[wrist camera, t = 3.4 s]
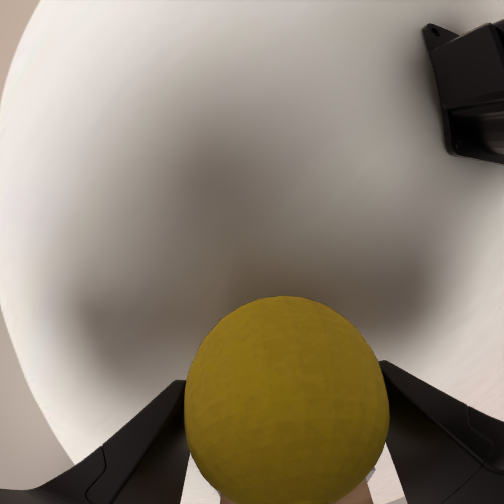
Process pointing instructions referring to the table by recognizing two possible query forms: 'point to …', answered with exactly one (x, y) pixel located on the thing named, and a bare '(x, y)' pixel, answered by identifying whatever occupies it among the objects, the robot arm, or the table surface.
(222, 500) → the wooden tray
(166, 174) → the table surface
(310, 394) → the lemon
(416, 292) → the table surface
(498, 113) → the robot arm
